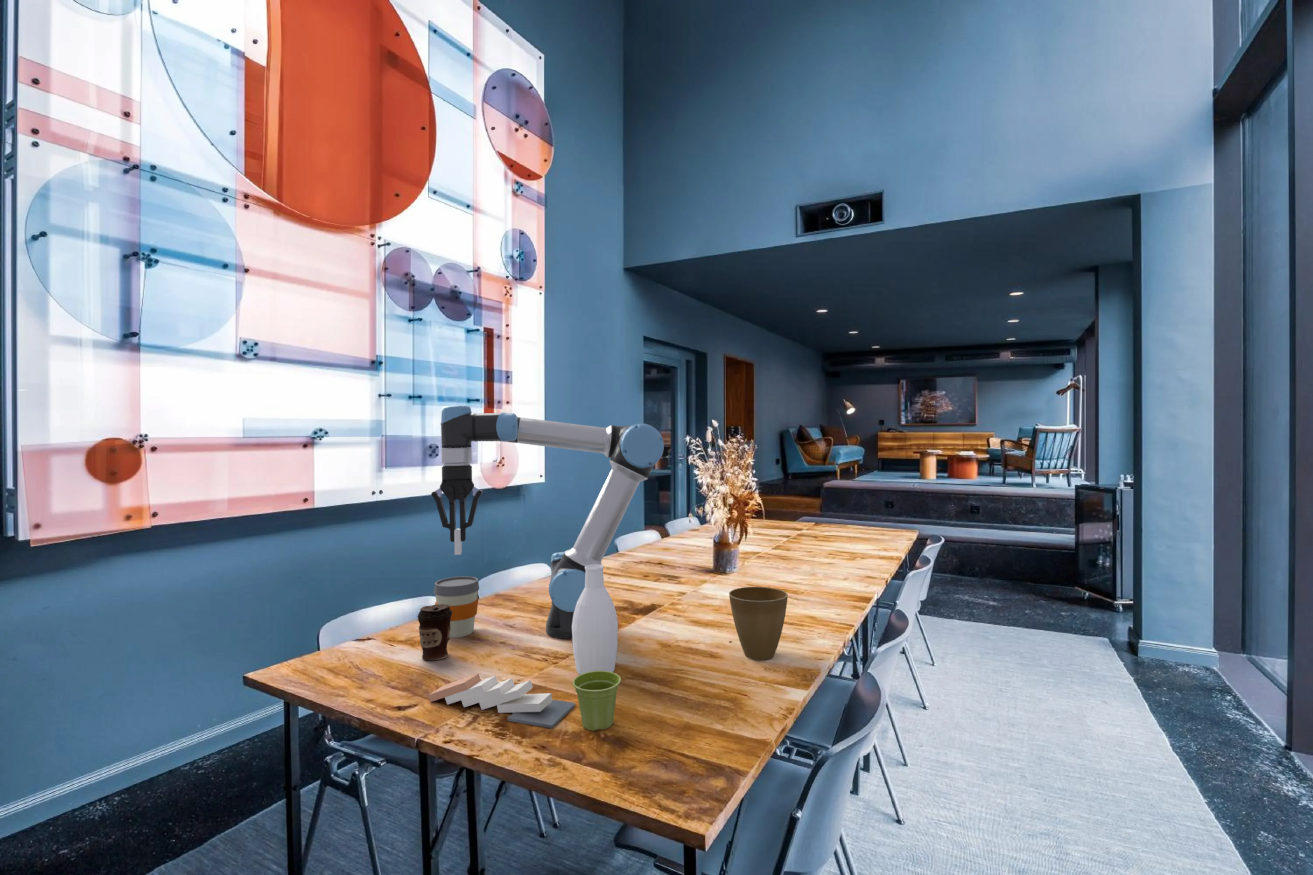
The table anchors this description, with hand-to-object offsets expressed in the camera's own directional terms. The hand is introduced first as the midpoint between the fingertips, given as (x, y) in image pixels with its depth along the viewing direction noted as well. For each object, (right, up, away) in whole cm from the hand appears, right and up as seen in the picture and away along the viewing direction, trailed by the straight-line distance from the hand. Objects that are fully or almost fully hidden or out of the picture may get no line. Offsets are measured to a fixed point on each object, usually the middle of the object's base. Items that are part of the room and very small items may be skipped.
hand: (458, 553), depth 155 cm
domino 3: (+12, -26, -29) cm, 40 cm away
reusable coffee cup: (-6, -27, +17) cm, 32 cm away
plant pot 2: (+79, -26, -4) cm, 83 cm away
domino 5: (+20, -25, -31) cm, 45 cm away
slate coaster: (+29, -26, -34) cm, 52 cm away
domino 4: (+16, -25, -30) cm, 43 cm away
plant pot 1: (+41, -26, -39) cm, 62 cm away
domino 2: (+8, -26, -27) cm, 38 cm away
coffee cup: (-5, -27, -2) cm, 27 cm away
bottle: (+38, -26, -13) cm, 48 cm away
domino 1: (+4, -26, -26) cm, 37 cm away
